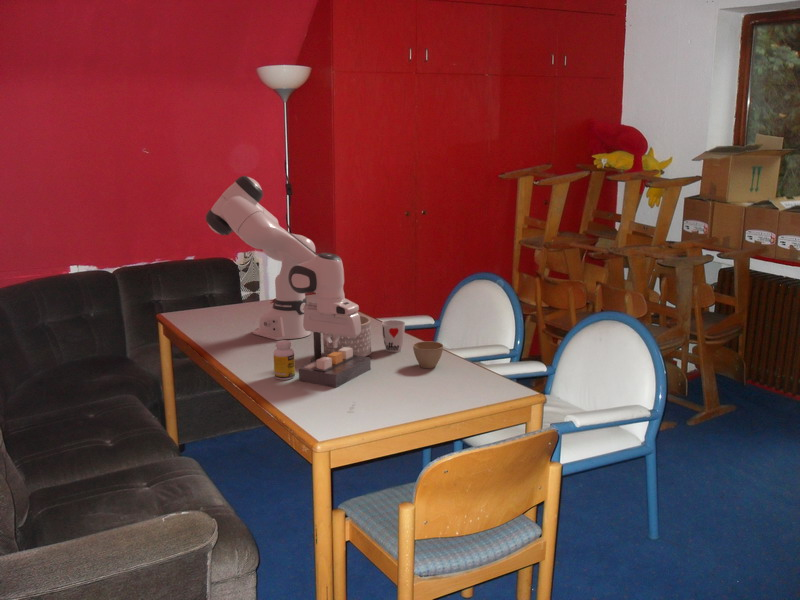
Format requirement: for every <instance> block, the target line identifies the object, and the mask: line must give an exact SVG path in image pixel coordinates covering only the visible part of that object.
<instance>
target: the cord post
mask: <svg viewBox="0 0 800 600" xmlns="http://www.w3.org/2000/svg"><path fill="white" fill-rule="evenodd" d="M321 334H322V333H318V332H313V355H314V356H313V358H311V359H310V363H312V362H314V361H316V360H318V359H320V358H322V357H323V356H322V337H321V336H322V335H321Z"/></svg>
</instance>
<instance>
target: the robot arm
mask: <svg viewBox="0 0 800 600" xmlns="http://www.w3.org/2000/svg"><path fill="white" fill-rule="evenodd" d="M263 196H264V191H263V189H262V186H261V185H260V183H259V182H258V181H257V180H255V179H254V178H252V177H250V176H248V175H241V176H240V177H238V178H237V179H235V180H234V182H233V183H232V184H231V185H230V186H228V188H227V189H225V190H224V191H223V192H222V193H221V195H220V196H219V198H218V199H217V200H216V201H215V202H214V204H213V206H212V207H211V209H210V208H209V209H208V212H207V213H206V215H205V222H206V223H207V225H208V226H209V228H210V229H211V230H212V231H213V232H214V233H216V234H218V235H221V236H229V235H230V234H231V233H233V232H234V233H235V234H236V235H237V236H238V237H239V238H240V239H241V240H242V241H243V242H244V243H245V244H247V245H248V246H250V247H251V248H254V249H256V250H262V252H263V253H264V254H265V255H266V256H268V258H269V259H270V258H271V259H272V260H274V261H277V262H281V267H280V271H279V274H278V275H276V277H275V280H274V284H275V286H274V287H275V298H274V299H272V300H270V305H271V304H272V308H270V309H269V310H268V311H267V312H265V313H264V314H263V315H262V316H261V317H260V319H259V325H258V328H255V329H254V330H253V335H256V336H261V337H265V338H268V339H271V340H275V341H281V340H292V339H295V340H296V339H301V338H305V337H308V336H310V335H311V334H312V332H318V333H321V334H322V337H323V336H324V338H325V340H326V342H327V347H331V348H336V347H337V342H338V340H339V338H340V336H345V337H352V338H355V337H357V336H359V335H360V333H361V321H360V316H359V315H360V314H359V313H358V311H360V307H359V305H358V304H357V303H355V302H354V301H351V300H349V299H348V298H345V295H346V294H345V292H344V285H345V271H344V265H343V264H344V263H343V261H342V260H343V259H342V258H341V257H340V256H339V255H337V254H335V253H331V252H321V253H317V252H316V245H315V243H314V242H313V240H311V239H310V238H308V237H307V236H304V235H301V234H295V233H291V232H289V231H288V230H286V229H285V228H284V227H282V226H280V224H279V220H278V218H277V217H276V216H274V215H273V214H272V213H271V212H269V210H267V209H266V208H265V207H264V206H262V205H261V204H260V202H261V200H262V198H263ZM309 293H315V294H316V295H315V296H316V302H310V301H309V302H308V301H307V297H306V294H309ZM331 334H332V335H333V338H334V341H332V340H331V338H330V335H331Z"/></svg>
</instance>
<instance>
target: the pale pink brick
mask: <svg viewBox="0 0 800 600" xmlns="http://www.w3.org/2000/svg"><path fill="white" fill-rule="evenodd" d="M338 352H340V353H342V356H343V359H348V358H350V357H352V356H353V348H349V347H344V348H342V349H339V350H338Z"/></svg>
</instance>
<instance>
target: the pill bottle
mask: <svg viewBox="0 0 800 600" xmlns="http://www.w3.org/2000/svg"><path fill="white" fill-rule="evenodd" d="M291 346H292V342H291V341H290V340H289V339H283V340H276V342H275V347H276V349H275V350H274V351H273V372H274V378H275V379H277V380H279V381H280V380H281V381H285V380H286V381H287V380H291V379H293V378H295V375H296V367H295V366H296V365H295V363H296V362H295V351H294V350H293V348H291Z"/></svg>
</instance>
